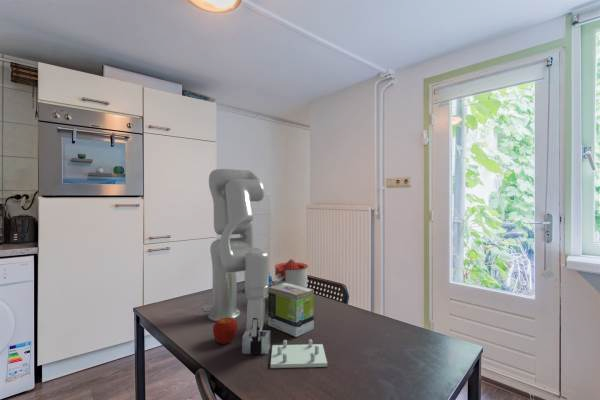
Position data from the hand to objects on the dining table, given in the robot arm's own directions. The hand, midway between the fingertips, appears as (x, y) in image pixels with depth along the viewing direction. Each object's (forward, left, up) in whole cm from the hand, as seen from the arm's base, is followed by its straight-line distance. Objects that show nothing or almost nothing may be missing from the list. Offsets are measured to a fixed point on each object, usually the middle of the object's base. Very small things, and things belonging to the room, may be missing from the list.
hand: (256, 347), depth 91 cm
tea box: (+11, +16, -1) cm, 19 cm away
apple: (-11, +6, -1) cm, 13 cm away
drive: (0, 0, -1) cm, 1 cm away
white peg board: (+13, -5, -1) cm, 14 cm away
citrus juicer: (+11, +43, -1) cm, 44 cm away
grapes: (-3, +61, -1) cm, 61 cm away
